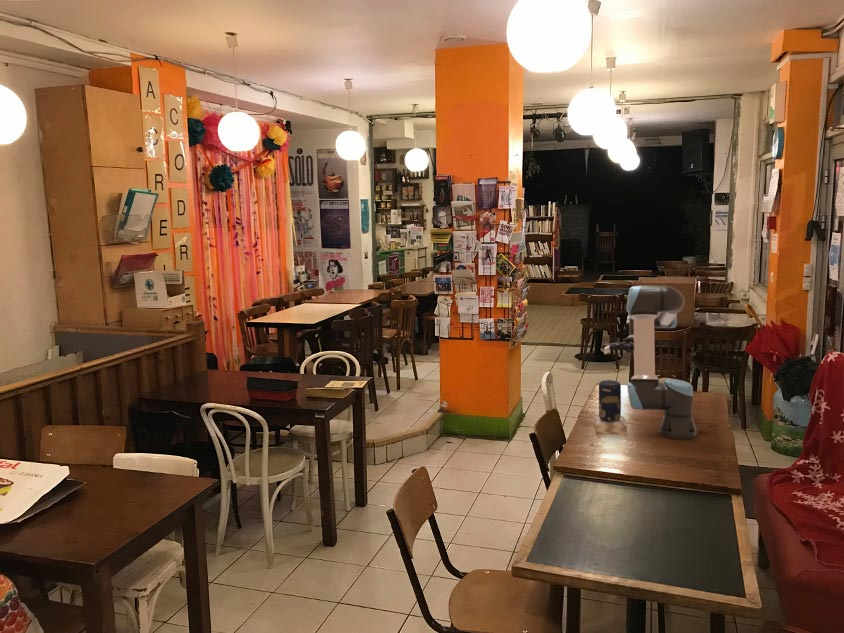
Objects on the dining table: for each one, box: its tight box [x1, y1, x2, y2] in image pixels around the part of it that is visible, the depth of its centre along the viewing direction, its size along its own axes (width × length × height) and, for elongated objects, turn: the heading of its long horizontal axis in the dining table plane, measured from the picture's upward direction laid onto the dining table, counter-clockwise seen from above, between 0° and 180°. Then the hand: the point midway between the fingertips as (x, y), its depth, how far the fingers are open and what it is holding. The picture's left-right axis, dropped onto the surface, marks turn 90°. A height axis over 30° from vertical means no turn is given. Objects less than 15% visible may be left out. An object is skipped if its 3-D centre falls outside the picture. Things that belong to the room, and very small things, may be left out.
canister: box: [598, 379, 622, 421], centre depth 304 cm, size 10×10×18 cm
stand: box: [594, 415, 628, 435], centre depth 305 cm, size 13×13×5 cm
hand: (619, 352), depth 314 cm, fingers open, 13 cm apart
